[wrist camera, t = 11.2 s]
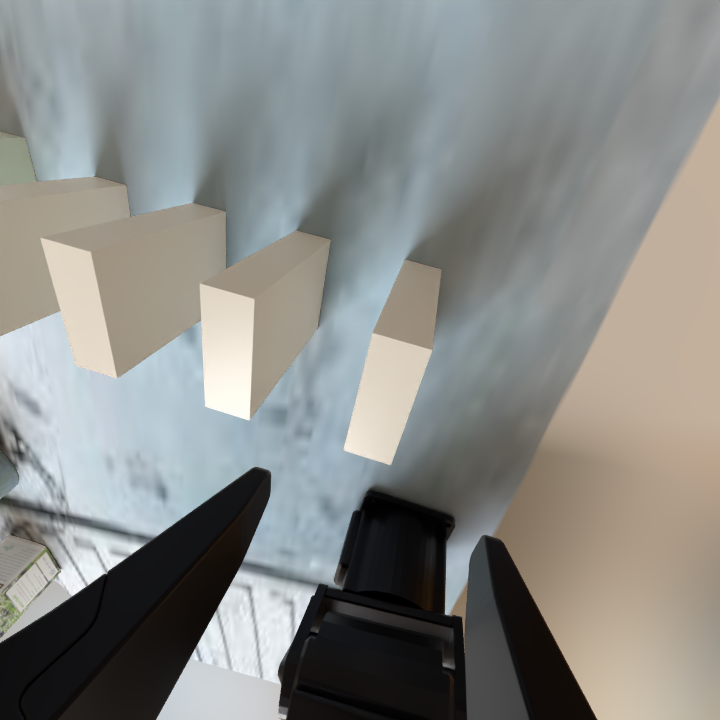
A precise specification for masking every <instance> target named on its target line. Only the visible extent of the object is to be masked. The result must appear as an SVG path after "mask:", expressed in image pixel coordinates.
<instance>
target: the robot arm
mask: <svg viewBox="0 0 720 720" xmlns="http://www.w3.org/2000/svg"><path fill="white" fill-rule="evenodd" d="M270 492H271V472H270V471H269V470H266V469H263V468H259V467H254V468H252V469H250V470H249V471H248V472H246V473H245V474H243V475H242V476H241V477H239V478H238V479H236V480H235V481H234V482H232V483H231V484H229V485H228V486H227V487H225V488H224V489H222V490H221V491H220V492H218V493H217V494H215V495H214V496H213V497H211V498H210V499H208V500H207V501H206V502H204V503H203V504H201V505H200V506H199V507H197V508H196V509H194V510H193V511H192V512H190V513H189V514H187V515H186V516H185V517H183V518H182V519H180V520H179V521H178V522H176V523H175V524H173V525H172V526H171V527H169V528H168V529H166V530H165V531H164V532H162V533H161V534H160V535H158V536H157V537H155V538H154V539H153V540H151V541H150V542H148V543H147V544H146V545H144V546H143V547H141V548H140V549H139V550H137V551H136V552H134V553H133V554H132V555H130V556H129V557H127V558H126V559H125V560H123V561H122V562H120V563H119V564H118V565H116V566H115V567H113V568H112V569H111V570H109V571H108V574H103V575H102V576H101V577H99V578H98V579H96V580H95V581H94V582H92V583H91V584H89V585H88V586H87V587H85V588H84V589H82V590H81V591H79V592H78V593H76V594H75V595H74V596H72V597H71V598H69V599H68V600H66V601H65V602H63V603H62V604H60V605H59V606H58V607H56V608H55V609H53V610H52V611H50V612H49V613H47V614H45V615H44V616H42V617H41V618H39V619H38V620H36V621H34V622H33V623H31V624H30V625H28V626H26V627H25V628H24V629H22V630H20V631H19V632H17V633H15V634H14V635H12V636H11V637H9V638H7V639H6V640H4V641H2V642H1V643H0V720H156V719H157V717H158V715H159V713H160V711H161V710H162V708H163V706H164V704H165V702H166V701H167V699H168V697H169V695H170V693H171V692H172V690H173V688H174V686H175V684H176V682H177V681H178V679H179V677H180V675H181V673H182V672H183V669H184V668H185V666H186V664H187V662H188V661H189V659H190V657H191V655H192V653H193V652H194V650H195V648H196V646H197V644H198V642H199V641H200V639H201V637H202V635H203V633H204V632H205V630H206V628H207V626H208V624H209V622H210V621H211V619H212V617H213V615H214V613H215V612H216V610H217V608H218V606H219V604H220V602H221V601H222V599H223V597H224V595H225V593H226V592H227V590H228V588H229V586H230V584H231V582H232V581H233V579H234V577H235V575H236V573H237V571H238V570H239V568H240V566H241V564H242V562H243V559H244V557H245V555H246V553H247V550H248V548H249V546H250V543H251V541H252V538H253V536H254V534H255V531H256V529H257V527H258V524H259V522H260V520H261V517H262V515H263V512H264V510H265V508H266V505H267V503H268V500H269V497H270ZM454 528H455V519H454V518H453V517H451V516H449V515H445V514H442V513H439V512H436V511H433V510H430V509H427V508H424V507H421V506H418V505H415V504H412V503H409V502H405V501H402V500H399V499H396V498H393V497H390V496H387V495H384V494H381V493H378V492H375V491H368V492H366V494H365V497H364V500H363V503H362V506H361V509H360V511H358V510H356V511H354V512H353V514H352V517H351V521H350V524H349V527H348V530H347V534H346V538H345V541H344V545H343V548H342V552H341V555H340V559H339V563H338V566H337V570H336V573H335V577H334V582H335V584H336V585H339V586H341V589H340V590H338V589H334V588H330V587H328V585H325V584H319V586H318V588H317V590H316V593H315V595H314V596H312V597H311V600H310V602H309V605H308V607H307V609H306V612H305V614H304V617H303V619H302V621H301V624H300V626H299V628H298V631H297V633H296V636H295V638H294V640H293V642H292V644H291V646H290V647H289V649H288V651H287V653H286V654H285V656H284V658H283V660H282V661H281V663H280V666H279V670H278V677H279V679H280V682H281V694H280V701H279V718H280V719H281V720H597V718H596V716H595V714H594V713H593V711H592V709H591V707H590V705H589V703H588V701H587V699H586V697H585V696H584V694H583V692H582V690H581V688H580V686H579V684H578V682H577V681H576V679H575V677H574V675H573V673H572V671H571V669H570V668H569V665H568V664H567V662H566V660H565V658H564V656H563V654H562V652H561V650H560V649H559V647H558V645H557V643H556V641H555V639H554V637H553V635H552V633H551V631H550V630H549V628H548V626H547V624H546V622H545V620H544V618H543V616H542V615H541V613H540V611H539V609H538V607H537V605H536V603H535V601H534V599H533V598H532V596H531V594H530V592H529V590H528V588H527V586H526V584H525V582H524V581H523V579H522V577H521V575H520V573H519V571H518V569H517V567H516V565H515V564H514V562H513V560H512V558H511V556H510V554H509V552H508V550H507V548H506V547H505V545H504V543H503V542H502V541H501V540H500V539H498V538H494V537H491V536H488V535H483V536H482V537H481V538H480V540H479V542H478V544H477V545H476V547H475V549H474V551H473V552H472V554H471V557H470V563H469V576H468V590H467V605H466V619H465V653H464V638H463V624H462V617H460V616H456V615H452V616H449V615H445V584H446V542H447V540H448V538H449V536H450V535H451V533H452V531H453V529H454Z"/></svg>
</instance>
